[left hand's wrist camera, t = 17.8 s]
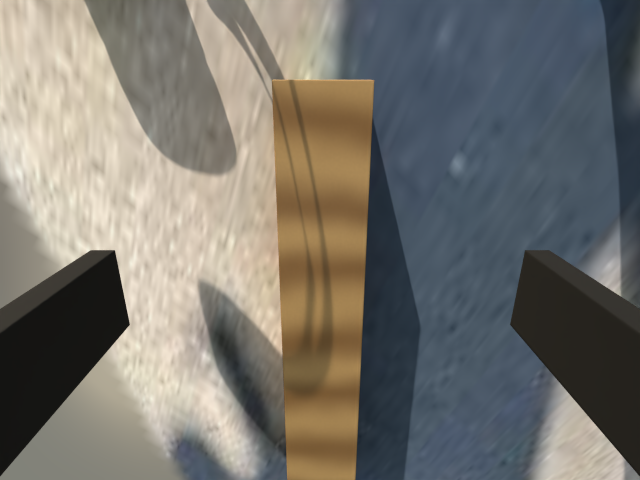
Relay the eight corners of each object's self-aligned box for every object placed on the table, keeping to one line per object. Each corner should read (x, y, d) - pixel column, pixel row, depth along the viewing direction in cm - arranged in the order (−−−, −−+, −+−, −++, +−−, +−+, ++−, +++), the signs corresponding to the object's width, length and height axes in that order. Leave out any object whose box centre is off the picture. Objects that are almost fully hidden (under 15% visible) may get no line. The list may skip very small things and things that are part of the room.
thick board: (279, 83, 39) (271, 79, 32) (365, 83, 39) (374, 79, 32) (292, 461, 57) (288, 508, 50) (350, 461, 57) (354, 508, 50)
